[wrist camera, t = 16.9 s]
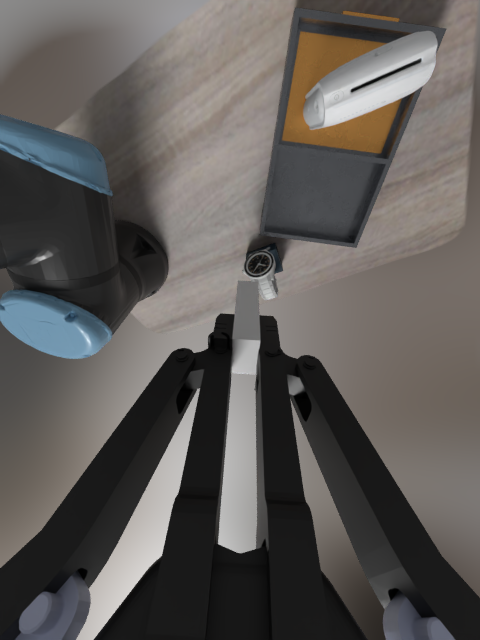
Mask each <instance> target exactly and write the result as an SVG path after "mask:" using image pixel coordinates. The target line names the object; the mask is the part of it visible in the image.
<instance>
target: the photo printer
mask: <svg viewBox="0 0 480 640" xmlns="http://www.w3.org/2000/svg"><path fill="white" fill-rule="evenodd" d="M437 46H438V42H437V38H436V36H435V34H434V33H433V32H432V31H422V32H416V33H413V34H410V35H407V36H405V37H402V38H399V39H397V40H394V41H392V42H390V43H387V44H385V45H383V46H381V47H378V48H376V49H374V50H372V51H370V52H368V53H365V54H363V55H361V56H359V57H357V58H355V59H353V60H351V61H349V62H347V63H345V64H344V65H342V66H340V67H338V68H337V69H336V70H334V71H332V72H330V73H329V74H328V75H326V76H325V77H323V78H322V79H321V80H320V81H319V82H318V83H317V84H316V85H315V86H314V87H313V88H312V89H311V90H310V91H309V92H308V93H307V94H306V96H305V98H306V101H305V103H304V107H303V117H304V120H305V122H306V124H307V125H308V126H309V129H310V130H314V129H320V128H325V127H329V126H333V125H336V124H339V123H342V122H345V121H348V120H350V119H353V118H356V117H358V116H361V115H363V114H366V113H368V112H371V111H373V110H376V109H378V108H380V107H383V106H385V105H387V104H390V103H392V102H394V101H396V100H399V99H401V98H403V97H405V96H407V95H409V94H411V93H413V92H414V91H416V90H418V89H419V88H420V87H422V86H423V85H424V84H426V82H427V81H428V80H429V78H430V77H431V75H432V73H433V70H434V67H435V64H436V50H437Z"/></svg>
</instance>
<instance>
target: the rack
mask: <svg viewBox="0 0 480 640" xmlns="http://www.w3.org/2000/svg"><path fill="white" fill-rule="evenodd" d="M399 19H400V18H393V17H386V16H378V15H371V14H364V13H357V12H350V11H343V12H342V14H338V13H331V12H323V11H316V10H309V9H302V8H295V11H294V14H293V18H292V24H291V31H290V37H289V44H288V50H287V57H286V63H285V70H284V76H283V83H282V89H281V96H280V102H279V109H278V115H277V122H276V128H275V134H274V141H273V147H272V154H271V160H270V167H269V173H268V180H267V186H266V193H265V199H264V206H263V212H262V219H261V225H260V235H264V236H272V237H279V238H287V239H294V240H302V241H310V242H317V243H325V244H332V245H340V246H347V247H355V248H356V247H357V245H358V242H359V240H360V237H361V235H362V233H363V230H364V228H365V225H366V223H367V221H368V218H369V216H370V213H371V211H372V208H373V206H374V204H375V201H376V199H377V196H378V194H379V191H380V189H381V187H382V184H383V182H384V179H385V177H386V174H387V172H388V170H389V167H390V165H391V162H392V160H393V157H394V155H395V153H396V150H397V148H398V145H399V143H400V140H401V138H402V136H403V133H404V131H405V128H406V126H407V123H408V121H409V119H410V116H411V114H412V111H413V109H414V106H415V104H416V102H417V99H418V97H419V94H420V92H421V89H422V87H423V86H422V87H420V88H419V89H418V90H416V91H414V92H413V93H411V94H409V95H407V96H405V97H403V98H401V99H399V100H396V101H394V102H392V103H390V104H387V105H385V106H383V107H380V108H378V109H376V110H373V111H371V112H368V113H366V114H363V115H361V116H358V117H356V118H353V119H350V120H348V121H345V122H342V123H339V124H336V125H333V126H329V127H325V128H320V129H314V130H310V129H309V126H308V125H307V124H306V122H305V120H304V117H303V107H304V103H305V101H306V98H305V96H306V94H307V93H308V92H309V91H310V90H311V89H312V88H313V87H314V86H315V85H316V84H317V83H318V82H319V81H320V80H321V79H322V78H323V77H325V76H326V75H328V74H329V73H330V72H332V71H334V70H336V69H337V68H338V67H340V66H342V65H344V64H345V63H347V62H349V61H351V60H353V59H355V58H357V57H359V56H361V55H363V54H365V53H368V52H370V51H372V50H374V49H376V48H378V47H381V46H383V45H385V44H387V43H390V42H392V41H394V40H397V39H399V38H402V37H405V36H407V35H410V34H413V33H416V32H422V31H432V32H433V33H434V34H435V36H436V38H437V42H438V46H437V50H436V53H437V51H438V48H439V46H440V43H441V41H442V38H443V36H444V34H445V31H446V29H445V28H438V27H430V26H423V25H416V24H409V23H402V22H399Z"/></svg>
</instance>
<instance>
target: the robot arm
mask: <svg viewBox="0 0 480 640" xmlns="http://www.w3.org/2000/svg"><path fill="white" fill-rule="evenodd" d="M112 196H113V193H112V190H111V189H110V186H109V180H108V175H107V169H106V163H105V160H104V158H103V156H102V154H101V153H100V151H99V150H98V149H97V148H96V147H95V146H94V145H92V144H91V143H89V142H87V141H85V140H83V139H80V138H77V137H74V136H71V135H68V134H65V133H62V132H59V131H56V130H52V129H49V128H45V127H43V126H39V125H35V124H32V123H29V122H26V121H22V120H18V119H15V118H12V117H8V116H4V115H1V114H0V269H2V268H6V269H7V271H8V274H9V276H10V278H11V281H12V282H13V285H14V289H13V290H10V291H8V292H6V293H4V294H3V295H2V298H1V299H0V321H1V322H2V324H3V325H4V326H5V327H6V328H7V329H8V330H9V331H10V332H11V333H12V334H13V335H14V336H16V337H17V338H18V339H20V340H21V341H23V342H24V343H26V344H28V345H30V346H32V347H34V348H35V349H38V350H40V351H42V352H45V353H47V354H51V355H54V356H58V357H63V358H71V359H79V358H85V357H89V356H91V355H93V354H95V353H97V352H98V351H99V350H100V349H101V348H102V347H103V346H104V345H105V344H106V343H107V342H108V341H110V340H111V338H112V335H113V334H114V333H115V331H116V330H117V329H118V327H119V326H120V325H121V323H122V322H123V321H124V319H125V318H126V317H127V316H128V314H129V313H130V312H131V310H132V309H133V308H134V306H135V305H136V304H137V302H139V301H141V300H143V299H145V298H147V297H150V296H152V295H153V294H155V293H156V292H157V291H158V290H159V289H160V288H161V287H162V285H163V284H164V282H165V280H166V278H167V275H168V262H167V258H166V255H165V252H164V250H163V249H162V247H161V245H160V244H159V242H158V241H157V240H156V239H155V238H154V237H153V236H152V235H151V234H150V233H149V232H148V231H146V230H145V229H143V228H142V227H140V226H138V225H136V224H133V223H130V222H126V221H114V212H113V204H112ZM231 373H240V374H257V375H256V383H255V390H256V439H257V440H256V448H257V449H256V450H257V535H256V536H257V537H256V540H257V541H256V549H255V550H252V551H248V552H245V553H236V552H234V551H232V550H230V549H227V548H225V547H223V546H221V545H218V534H219V519H220V506H221V495H222V483H223V471H224V458H225V447H226V435H227V423H228V410H229V398H230V387H231ZM198 388H200V392H199V397H198V402H197V407H196V412H195V417H194V422H193V426H192V431H191V436H190V441H189V446H188V451H187V456H186V461H185V466H184V470H183V475H182V480H181V485H180V489H179V493H178V495H177V497H176V498H175V501H174V504H173V508H172V512H171V517H170V521H169V526H168V531H167V535H166V540H165V545H164V549H163V554H162V556H161V557H160V558H159V559H158V560H157V561H156V562H155V563H154V564H153V565H152V566H151V567H150V568H149V569H148V570H147V571H146V572H145V574H144V575H143V577H142V578H141V579H140V580H139V581H138V583H137V584H136V585H135V587H134V588H133V589H132V591H131V592H130V593H129V595H128V596H127V597H126V599H125V600H124V601H123V602H122V604H121V605H120V606H119V608H118V609H117V610H116V611H115V613H114V614H113V615H112V617H111V618H110V619H109V620H108V622H107V623H106V624H105V626H104V627H103V629H102V630H101V631H100V632H99V633H98V635H97V636H96V637H95V639H94V640H368V639H367V638H366V636H365V635H364V633H363V632H362V630H361V629H360V627H359V626H358V624H357V622H356V621H355V619H354V618H353V616H352V615H351V613H350V612H349V610H348V609H347V607H346V606H345V604H344V602H343V601H342V599H341V598H340V596H339V595H338V593H337V591H336V590H335V589H334V587H333V585H332V584H331V582H330V581H329V580H328V578H327V577H326V576H325V575H324V573H323V572H322V571H321V569H320V563H319V557H318V550H317V544H316V538H315V531H314V525H313V519H312V515H311V511H310V508H309V506H308V504H307V503H306V500H305V497H304V491H303V484H302V477H301V470H300V463H299V456H298V449H297V443H296V436H295V429H294V422H293V415H292V408H291V401H292V403H293V406H294V408H295V410H296V413H297V415H298V417H299V420H300V422H301V425H302V427H303V429H304V432H305V434H306V436H307V439H308V441H309V443H310V446H311V448H312V451H313V453H314V455H315V457H316V460H317V463H318V465H319V467H320V470H321V472H322V474H323V477H324V479H325V482H326V484H327V486H328V489H329V491H330V493H331V496H332V498H333V501H334V503H335V505H336V508H337V510H338V512H339V515H340V517H341V519H342V522H343V524H344V527H345V529H346V531H347V534H348V536H349V538H350V541H351V543H352V545H353V548H354V550H355V553H356V555H357V557H358V560H359V562H360V564H361V566H362V568H363V571H364V573H365V575H366V577H367V579H368V581H369V583H370V585H371V586H372V588H373V590H374V592H375V594H376V596H377V597H378V599H379V601H380V602H381V604H382V606H383V607H384V609H385V612H384V616H383V627H384V634H385V637H386V640H480V598H479V597H478V595H477V594H476V593H475V592H474V591H473V590H472V589H471V588H470V587H469V586H468V584H467V583H466V582H465V581H464V580H463V579H462V578H461V577H460V576H459V575H458V574H457V572H456V571H455V570H454V569H453V568H452V567H451V566H450V565H449V564H448V562H447V561H446V560H445V559H444V558H443V557H442V556H441V554H440V552H439V551H438V549H437V548H436V546H435V544H434V543H433V541H432V540H431V538H430V536H429V535H428V533H427V532H426V530H425V528H424V527H423V525H422V524H421V522H420V520H419V519H418V517H417V516H416V514H415V512H414V511H413V509H412V508H411V506H410V504H409V503H408V501H407V500H406V498H405V496H404V495H403V493H402V492H401V490H400V488H399V487H398V485H397V484H396V482H395V480H394V479H393V477H392V475H391V474H390V472H389V471H388V469H387V468H386V466H385V464H384V463H383V461H382V459H381V458H380V456H379V455H378V453H377V451H376V450H375V448H374V447H373V445H372V444H371V442H370V440H369V439H368V437H367V436H366V434H365V432H364V431H363V429H362V427H361V426H360V424H359V423H358V421H357V419H356V418H355V416H354V415H353V413H352V411H351V410H350V408H349V407H348V405H347V404H346V402H345V400H344V399H343V397H342V395H341V394H340V392H339V391H338V389H337V387H336V386H335V384H334V383H333V381H332V379H331V378H330V376H329V375H328V373H327V371H326V370H325V368H324V367H323V365H322V363H321V362H320V361H319V360H318V359H317V358H315V357H313V356H310V355H304V356H301V357H299V358H298V359H296V358H292V357H289V356H287V355H286V354H285V353H283V351H282V349H281V348H280V341H279V334H278V328H277V321H276V320H275V318H274V317H273V316H261V315H259V294H258V282H252V281H238V286H237V296H236V306H235V314H220V315H219V316H218V317H217V318H216V322H215V327H214V332H212V333H211V334H210V335H209V336H208V349H206V350H204V351H202V352H197V353H193V352H192V350H190V349H186V348H181V349H177V350H175V351H173V352H172V353H171V354H170V356H169V357H168V358H167V360H166V361H165V362H164V364H163V365H162V367H161V368H160V369H159V371H158V372H157V374H156V375H155V376H154V377H153V379H152V380H151V382H150V383H149V384H148V386H147V387H146V389H145V390H144V391H143V392H142V394H141V395H140V397H139V398H138V399H137V401H136V402H135V404H134V405H133V407H131V409H130V410H129V412H128V413H127V414H126V416H125V417H124V418H123V420H122V421H121V423H120V424H119V425H118V427H117V428H116V429H115V431H114V432H113V433H112V435H111V436H110V438H109V439H108V440H107V442H106V443H105V444H104V446H103V447H102V448H101V450H100V451H99V453H98V454H97V455H96V457H95V458H94V459H93V461H92V462H91V464H90V465H89V466H88V468H87V469H86V470H85V472H84V473H83V475H82V476H81V477H80V478H79V480H78V481H77V483H76V484H75V485H74V487H73V488H72V489H71V491H70V492H69V493H68V495H67V496H66V498H65V499H64V500H63V502H62V503H61V504H60V506H59V507H58V508H57V510H56V511H55V513H54V514H53V515H52V517H51V518H50V519H49V521H48V522H47V524H46V525H45V526H44V528H43V529H42V530H41V531H40V532H39V533H38V534H37V535H36V536H35V537H34V538H33V539H32V540H30V541H29V542H28V543H27V544H26V545H25V546H24V547H23V548H22V549H21V550H20V551H19V552H18V553H17V554H16V555H14V556H13V557H12V558H11V559H10V560H9V561H8V562H7V563H6V564H5V565H4V566H2V567H1V568H0V640H76V638H77V637H78V635H79V633H80V631H81V629H82V627H83V625H84V624H85V622H86V619H87V616H88V613H89V608H90V592H89V587H90V586H91V585H92V583H93V582H94V581H95V579H96V578H97V576H98V575H99V573H100V572H101V570H102V569H103V567H104V566H105V564H106V563H107V561H108V559H109V557H110V556H111V554H112V552H113V550H114V549H115V547H116V545H117V543H118V541H119V539H120V537H121V536H122V534H123V532H124V530H125V528H126V526H127V524H128V522H129V520H130V518H131V516H132V514H133V512H134V510H135V508H136V507H137V505H138V503H139V501H140V499H141V497H142V495H143V493H144V491H145V489H146V487H147V485H148V483H149V481H150V479H151V477H152V476H153V474H154V472H155V470H156V468H157V466H158V464H159V462H160V460H161V458H162V456H163V454H164V453H165V451H166V449H167V447H168V444H169V443H170V441H171V439H172V437H173V435H174V433H175V431H176V429H177V427H178V425H179V424H180V422H181V420H182V418H183V416H184V414H185V412H186V410H187V408H188V406H189V404H190V402H191V400H192V398H193V397H194V395H195V393H196V391H197V389H198ZM290 399H291V401H290Z"/></svg>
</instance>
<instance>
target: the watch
mask: <svg viewBox="0 0 480 640" xmlns="http://www.w3.org/2000/svg"><path fill="white" fill-rule="evenodd" d="M242 271H243V274H246V275H247V276H248V277H249V278H250V280H251V281H252V282H258V290H259V292H260V294H261V296H262V298H263V299H264V300H269V299H272V298H275V297H278V288H277V284H276V281H277V280H276V279H275V276H274V274H275V273H278V272H281V271H283V268H282V263H281V260H280V257H279V254H278V251H277V248H276V245H275V243H273V244H270V245H268V246H265V247H262V248H260V249H257V250H254V251H252V252H249V253H247V254H246V261H245V264H244V270H242Z"/></svg>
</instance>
